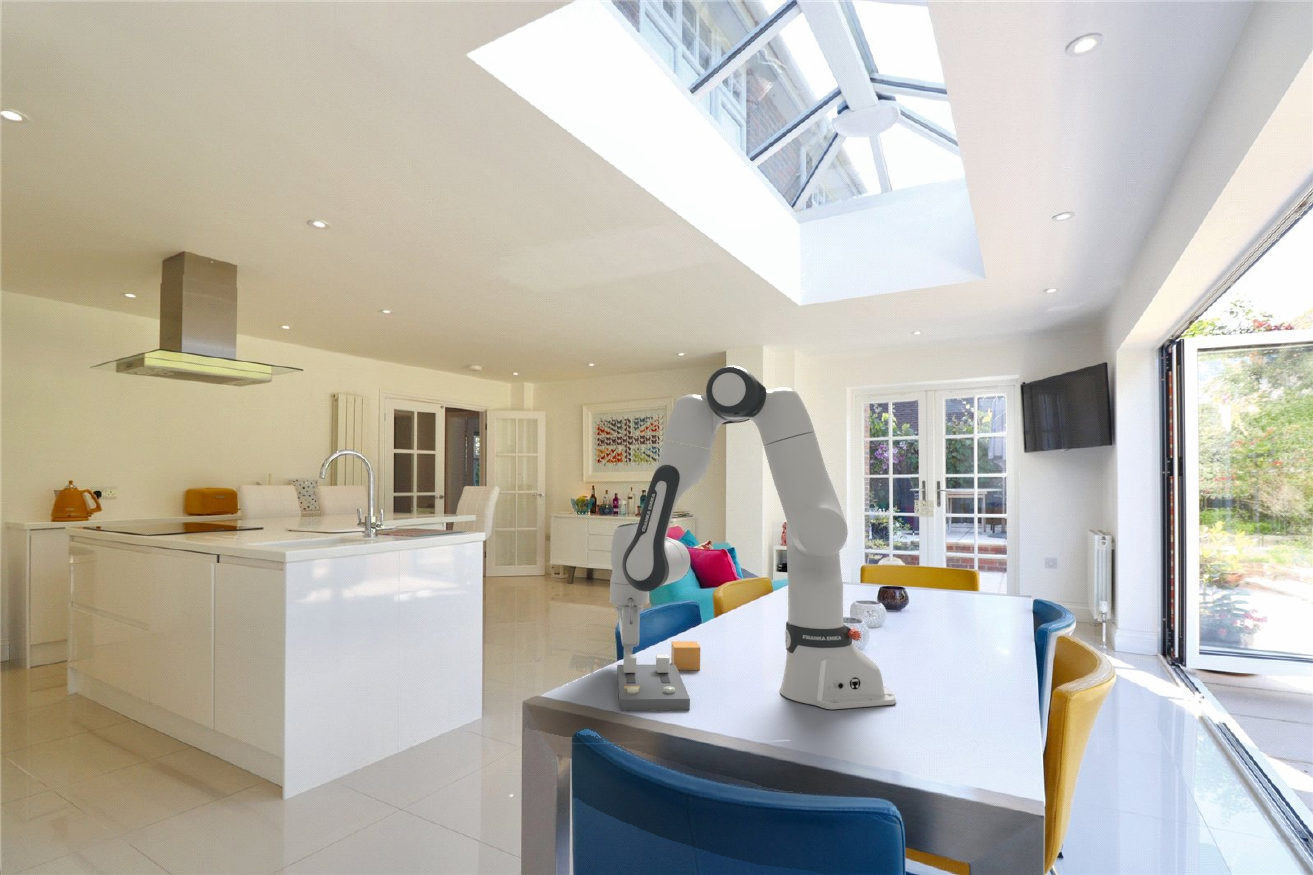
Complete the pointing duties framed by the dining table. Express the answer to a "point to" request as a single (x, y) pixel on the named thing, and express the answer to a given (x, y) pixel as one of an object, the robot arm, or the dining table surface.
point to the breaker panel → (652, 689)
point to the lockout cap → (685, 655)
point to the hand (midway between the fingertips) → (627, 658)
